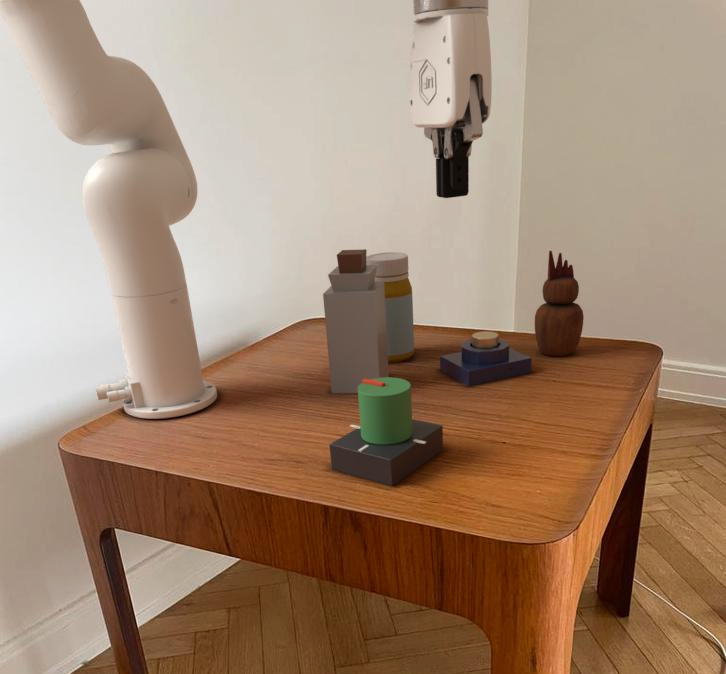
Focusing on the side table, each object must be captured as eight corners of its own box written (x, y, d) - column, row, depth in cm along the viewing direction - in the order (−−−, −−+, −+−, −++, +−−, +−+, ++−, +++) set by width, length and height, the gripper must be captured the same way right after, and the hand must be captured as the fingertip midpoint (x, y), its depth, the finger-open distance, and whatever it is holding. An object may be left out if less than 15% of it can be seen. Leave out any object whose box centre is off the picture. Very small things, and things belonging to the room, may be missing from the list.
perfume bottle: (380, 393, 100) (372, 256, 92) (331, 393, 102) (319, 258, 94) (388, 376, 106) (382, 246, 98) (342, 376, 108) (332, 247, 99)
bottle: (408, 364, 111) (404, 260, 104) (363, 363, 112) (356, 261, 106) (418, 350, 116) (415, 251, 110) (375, 349, 118) (369, 252, 112)
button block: (468, 386, 101) (468, 358, 99) (440, 370, 107) (439, 343, 105) (531, 373, 104) (532, 345, 102) (499, 358, 110) (500, 331, 109)
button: (480, 352, 102) (480, 340, 101) (467, 346, 105) (467, 334, 104) (503, 348, 103) (503, 335, 102) (489, 341, 106) (489, 329, 105)
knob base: (399, 488, 76) (398, 460, 74) (325, 467, 81) (322, 441, 80) (450, 451, 83) (449, 425, 81) (378, 434, 88) (377, 410, 87)
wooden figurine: (535, 360, 108) (539, 254, 102) (532, 348, 114) (536, 246, 107) (583, 359, 108) (590, 252, 101) (577, 347, 113) (584, 244, 106)
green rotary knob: (422, 430, 81) (421, 379, 78) (392, 449, 77) (390, 396, 74) (381, 420, 84) (378, 371, 81) (350, 438, 80) (346, 387, 78)
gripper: (385, 12, 80) (393, 195, 88) (454, -8, 68) (456, 206, 76) (447, 10, 82) (449, 188, 91) (524, -10, 70) (519, 198, 78)
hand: (452, 195), depth 83 cm, fingers closed
